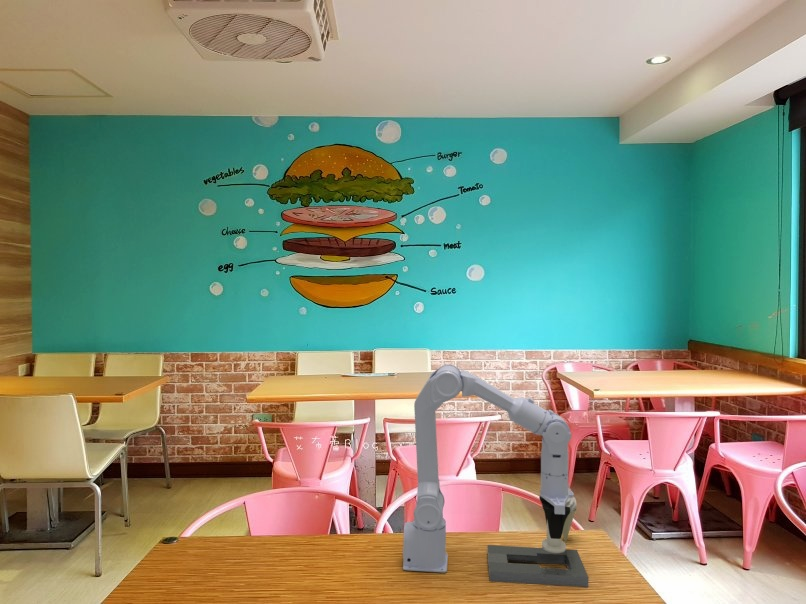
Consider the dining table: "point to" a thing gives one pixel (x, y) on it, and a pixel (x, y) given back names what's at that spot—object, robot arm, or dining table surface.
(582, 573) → the keyhole plate
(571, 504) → the ice cream cone
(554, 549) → the peg
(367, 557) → the dining table surface
